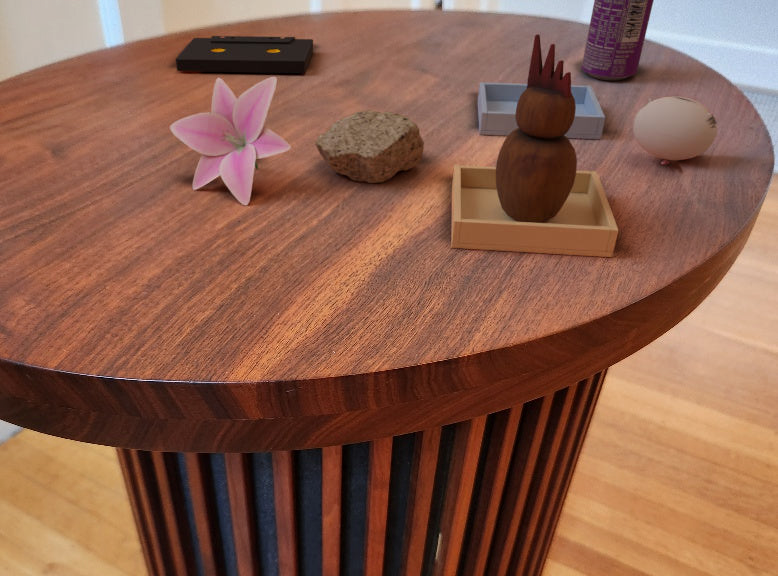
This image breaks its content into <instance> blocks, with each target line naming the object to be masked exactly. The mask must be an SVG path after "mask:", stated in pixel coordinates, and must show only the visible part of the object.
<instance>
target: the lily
mask: <svg viewBox="0 0 778 576" xmlns="http://www.w3.org/2000/svg"><path fill="white" fill-rule="evenodd" d="M277 84H278V79H277V76H269V77H268V78H265V79H263V80H261V81H259V82H257V83H256V84H254V85H252V86H251V87H249V88H248V89H246V90H245V91H244V92H242V93H241V94H240V95H239V96H238V97H237V96H236V95H235V94H234V92H233V91H232V89H231V88H230V87H229V86H228V84H227V83H226V82H225V81H224V80H223V78H221V77H217V78H216V79H215V82H214V85H213V90H212V96H211V109H210V110H211V112H210V111H207V112H198V113H195V114H191V115H188V116H185V117H183V118H180V119H178V120H176V121H173V122H172V123H171V125H170V126H169V130H170V132H171V133H172V134H173V135H174V136H175V137H176V138H177V139H178V140H179V141H181V142H182V143H183V144H185V146H187V147H189V148H190V149H191V150H193V151H195V152H196V153H198V154H201V156H200V157H199V160H198V163H197V166H196V169H195V170H194V171H195V172H194V176H193V179H192V186H191V187H192V190H193V191H194V190H195V191H196V190H198V189H200V188H202V187H204V186H206V185H207V184H209V183H210V182H212V181H214V180H215V179H217V178H219V177H221V178H220V179H221V180H222V181H223V183H224V185H225V186H226V187H227V189H228V190H229V191H230V193H231V195H233V196H234V198H235V199H236V200H237V201H238V202H239V203H240V204H241V205H243V206H248V204H249V203H250V200H251V197H252V190H253V181H254V173H255V169H256V170H257V169H259V166H258V163H257V160H259V159H264V158H268V157H273V156H277V155H280V154H282V153H285V152H288V151H289V150H290V149H292V147H291V145H290V144H289V143H288V142H287V141H286V140H285V139H284V138H283V137H281V135H279V134H277V133H276V132H275V131H273V130H272V129H270V128H268V127H266V126H265V122H266V120H267V115H268V112H269V109H270V106H271V104H272V101H273V97H274V94H275V92H276V87H277Z"/></svg>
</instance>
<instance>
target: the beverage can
mask: <svg viewBox="0 0 778 576" xmlns="http://www.w3.org/2000/svg"><path fill="white" fill-rule="evenodd" d="M654 1H655V0H593V7H592V11H591V15H590V22H589V26H588V33H587V37H586V42H585V46H584V47H585V48H584V51H583V52H584V53H583V58H582V63H581V70H582V71H583V72H585V73H587V74H588V76H590V77H591V78H594V79H597V80H601V81H621V80H625V79H627V78H629V77H631V76H634V75H635V74H637V73H638V69H639V66H640V65H639V64H640V60H641V55H642V52H643V46H644V43H645V39H646V35H647V30H648V26H649V22H650V18H651V13H652V10H653V5H654Z"/></svg>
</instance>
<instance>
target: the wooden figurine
mask: <svg viewBox="0 0 778 576" xmlns="http://www.w3.org/2000/svg"><path fill="white" fill-rule="evenodd" d="M542 54H543V53H542V44H541V35H540V34H535V35H534V39H533V46H532V51H531V57H530V63H529V69H528V76H527V82H526V84H527V89H526V90H525V91H524V92H523V93H522V94H521V96H520V98H519V100H518V103H517V108H516V115H515V118H516V122H517V126H518V127H519V128H517V129H515V130H513V131H512V132H511V133H510V134H509V135H508V136H506V137H505V139H504V141H503V142H502V145H501V148H500V149H499V152H498V155H497V160H496V166H495V167H496V187H497V193H498V197H499V201H500V204H501V207H502V209H503V210H504V211H505V213H506V214H507V215H508V216H510V217H512V218H513V219H516V220H518V221H521V222H531V223H543V222H546V221H548V220H550V219H551V218H553V217H555V216H556V215H557V213H558V212H559V211H560V210H561V208H562V206H563V205H564V203H565V201H566V200H567V198H568V196H569V194H570V191H571V189H572V187H573V185H574V181H575V176H576V170H577V171H578V168H577V167H578V159H577V154H576V153H577V152H576V149H575V147H574V146H573V144H572V143H571V141H570V140H569V138H567V137H566V136H564V135H565V134H566V133H567V132H568V131H569V129H570V127H571V126H572V124H573V121H574V117H575V111H576V105H575V99H574V97H573V95H572V93H571V85H572V73H571V72H570V71H568V72H566V73H565V74H564V65H565V64H564V63H565V62H564V61H565V60H562V59H561V60H559V61H558V62H557V64H556V67H555V61H556V60H555V59H556V45H555V43H552V44H550V46H549V49H548V52H547V55H546V58H545V61H544V65H543V55H542Z"/></svg>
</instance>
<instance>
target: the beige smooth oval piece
mask: <svg viewBox="0 0 778 576" xmlns="http://www.w3.org/2000/svg"><path fill="white" fill-rule="evenodd" d="M632 131H633V136H634V139H635V140H636V142H637V144H638V145H639V146H640V148H642V150H644V151H646V152H647V153H648V154H650V155H652V156H654V157H657V158H659V159H662V160H663V159H664V160H663V161H661V162H660V163H661V165H665V166H666V165H669V164H670V161H684V160H689V159H693V158H695V157H698V156H699V155H702V154H703V153H705V152H706V151H707V150H708V149H710V148H711V146H712V145H713V143H714V141H715V140H716V137H717V135H718V134H717V133H718V126H717V121H716V118H715V116H714V115H713V112H711V111H710V110H709V109H708V107H706V105H704V104H703V103H700V102H698V101H697V100H694V99H693V98H689V97H684V96H676V95H675V96H674V95H673V96H664V97H659V98H657V99H653V100H652V99H651V98H650V97H648V103H646V104H645V105H643V106H642V107H641V108H640V109H639V111H638V112H637V113H636V115H635V117H634V119H633V123H632Z"/></svg>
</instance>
